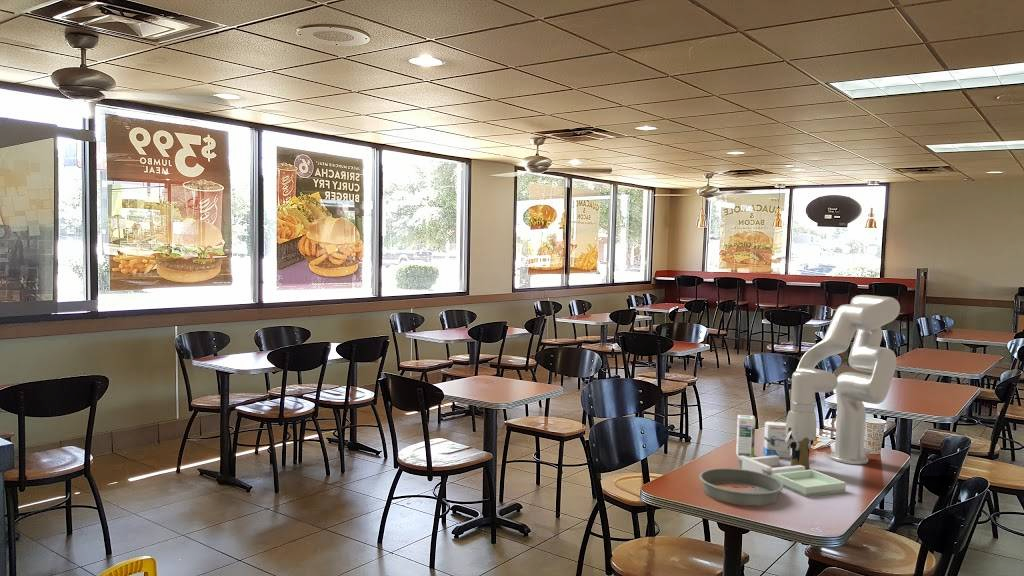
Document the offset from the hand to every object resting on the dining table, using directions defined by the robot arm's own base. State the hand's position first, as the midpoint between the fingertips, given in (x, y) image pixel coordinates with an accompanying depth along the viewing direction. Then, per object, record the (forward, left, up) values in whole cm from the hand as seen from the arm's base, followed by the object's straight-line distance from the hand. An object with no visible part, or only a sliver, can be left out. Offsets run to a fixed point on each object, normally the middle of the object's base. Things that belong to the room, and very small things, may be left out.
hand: (800, 459), depth 251 cm
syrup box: (+9, -18, -3) cm, 20 cm away
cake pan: (+38, +15, -3) cm, 41 cm away
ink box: (-3, -15, -3) cm, 16 cm away
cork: (0, 0, -2) cm, 2 cm away
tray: (+13, +17, -3) cm, 21 cm away
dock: (+12, 0, -3) cm, 12 cm away
